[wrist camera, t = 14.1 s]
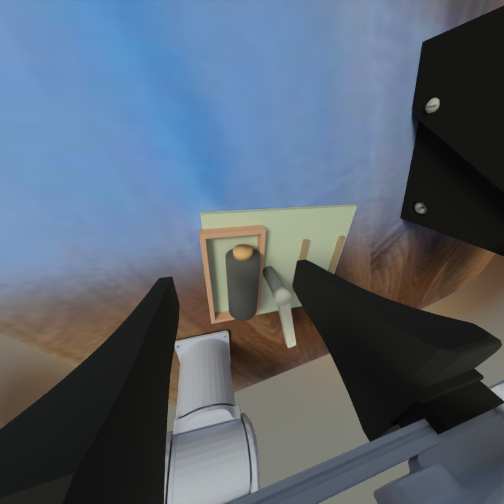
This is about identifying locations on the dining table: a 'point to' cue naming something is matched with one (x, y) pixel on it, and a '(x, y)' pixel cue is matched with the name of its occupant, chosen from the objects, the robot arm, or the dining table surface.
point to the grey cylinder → (242, 281)
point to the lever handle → (285, 314)
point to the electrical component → (460, 135)
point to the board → (271, 248)
